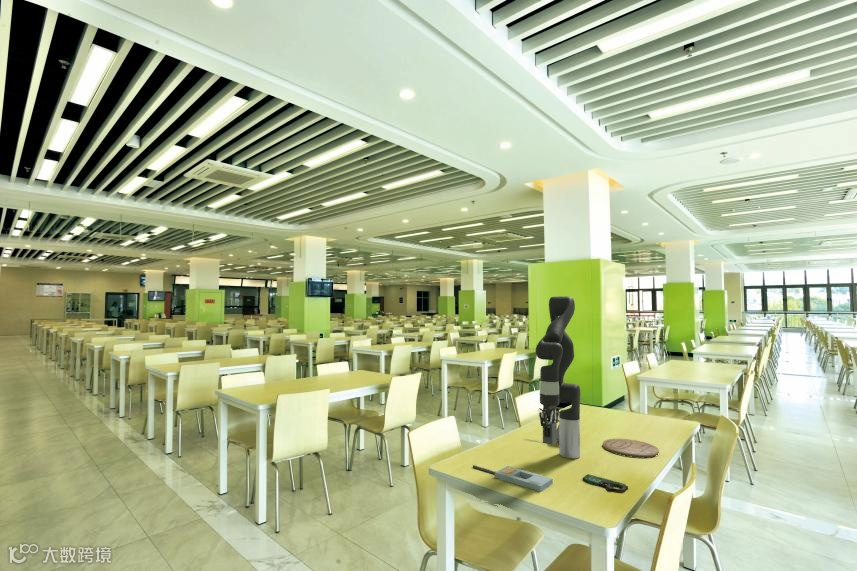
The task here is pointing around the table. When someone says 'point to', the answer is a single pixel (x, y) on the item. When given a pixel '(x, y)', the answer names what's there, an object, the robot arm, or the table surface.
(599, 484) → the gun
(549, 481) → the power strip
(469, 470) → the table surface
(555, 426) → the block
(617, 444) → the trivet
